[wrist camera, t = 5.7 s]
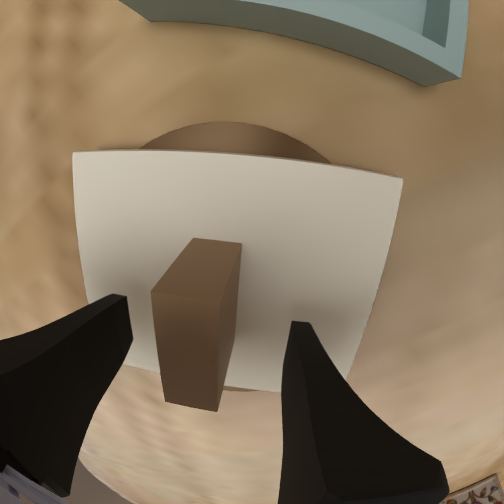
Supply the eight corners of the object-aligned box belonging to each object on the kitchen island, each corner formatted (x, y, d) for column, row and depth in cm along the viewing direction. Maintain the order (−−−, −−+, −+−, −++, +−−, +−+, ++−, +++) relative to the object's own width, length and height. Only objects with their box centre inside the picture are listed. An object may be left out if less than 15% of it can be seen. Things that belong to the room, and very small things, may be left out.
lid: (388, 172, 11) (462, 207, 6) (335, 374, 15) (347, 461, 10) (93, 148, 12) (0, 169, 6) (114, 340, 16) (67, 408, 10)
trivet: (421, 180, 11) (425, 182, 11) (313, 404, 16) (313, 409, 16) (108, 101, 11) (103, 100, 11) (97, 343, 16) (94, 347, 16)
